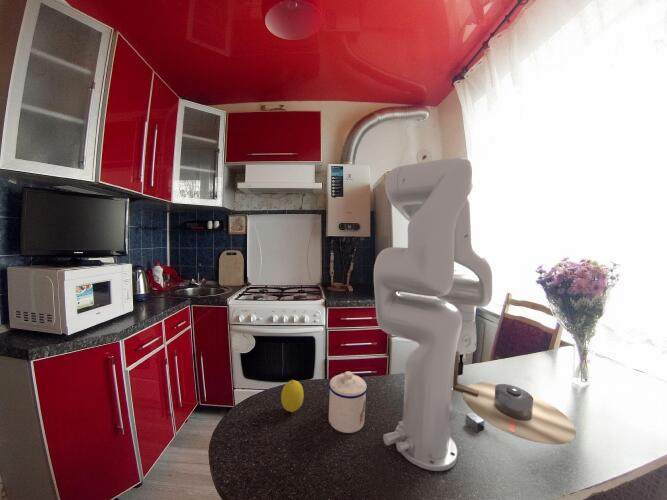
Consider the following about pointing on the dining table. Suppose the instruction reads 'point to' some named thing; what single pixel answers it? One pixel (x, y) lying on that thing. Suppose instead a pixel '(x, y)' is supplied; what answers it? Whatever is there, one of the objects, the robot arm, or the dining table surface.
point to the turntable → (541, 428)
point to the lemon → (292, 396)
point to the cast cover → (513, 402)
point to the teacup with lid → (347, 402)
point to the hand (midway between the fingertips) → (456, 372)
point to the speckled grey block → (475, 422)
